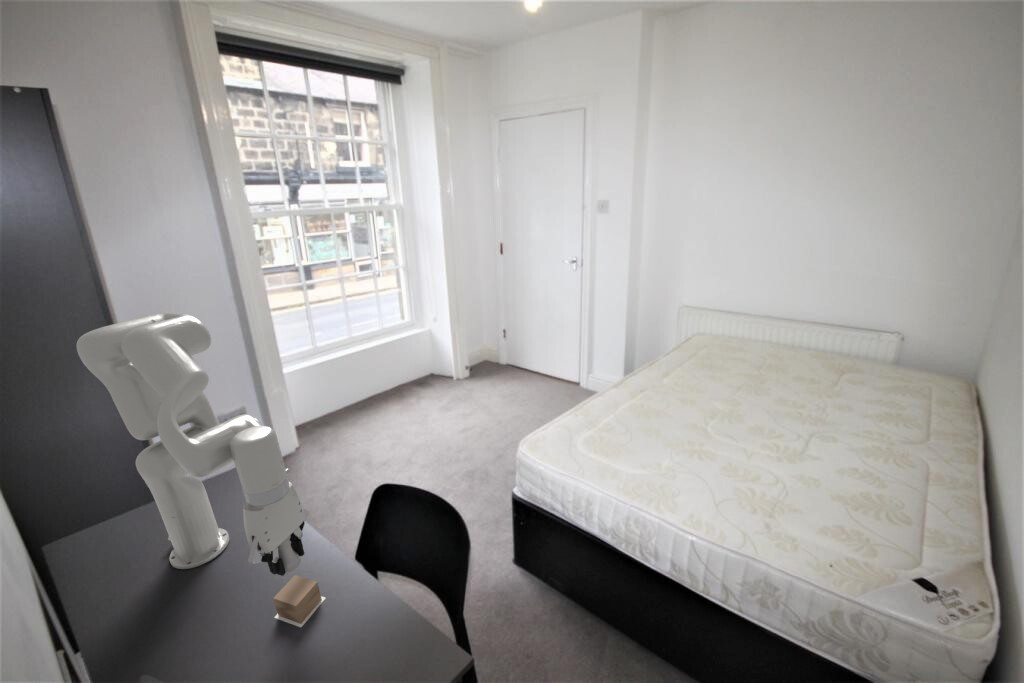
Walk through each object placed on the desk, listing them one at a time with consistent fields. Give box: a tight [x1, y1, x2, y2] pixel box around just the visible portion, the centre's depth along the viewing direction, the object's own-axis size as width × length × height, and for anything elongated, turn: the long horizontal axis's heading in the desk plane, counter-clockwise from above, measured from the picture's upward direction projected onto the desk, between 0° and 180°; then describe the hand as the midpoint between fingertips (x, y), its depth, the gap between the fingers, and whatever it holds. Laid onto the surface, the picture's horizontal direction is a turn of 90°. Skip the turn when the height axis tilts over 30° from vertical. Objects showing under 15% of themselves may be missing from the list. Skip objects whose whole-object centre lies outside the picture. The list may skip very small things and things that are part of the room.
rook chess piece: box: [278, 535, 302, 575], centre depth 91 cm, size 4×4×8 cm
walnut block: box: [272, 574, 322, 624], centre depth 95 cm, size 6×6×5 cm
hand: (288, 562), depth 92 cm, fingers closed on rook chess piece, 4 cm apart
